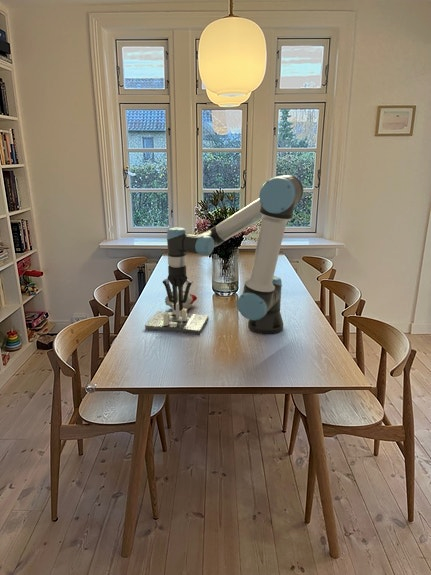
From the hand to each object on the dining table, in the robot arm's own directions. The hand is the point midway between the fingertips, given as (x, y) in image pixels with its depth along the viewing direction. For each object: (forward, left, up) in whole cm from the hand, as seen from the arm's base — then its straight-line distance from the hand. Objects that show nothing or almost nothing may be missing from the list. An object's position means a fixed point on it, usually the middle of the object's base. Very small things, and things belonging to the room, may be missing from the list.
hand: (178, 316), depth 174 cm
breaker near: (+3, +6, -1) cm, 7 cm away
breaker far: (+3, -6, -1) cm, 7 cm away
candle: (+3, -19, -4) cm, 20 cm away
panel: (0, 0, -4) cm, 4 cm away
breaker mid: (-3, 0, -1) cm, 3 cm away
